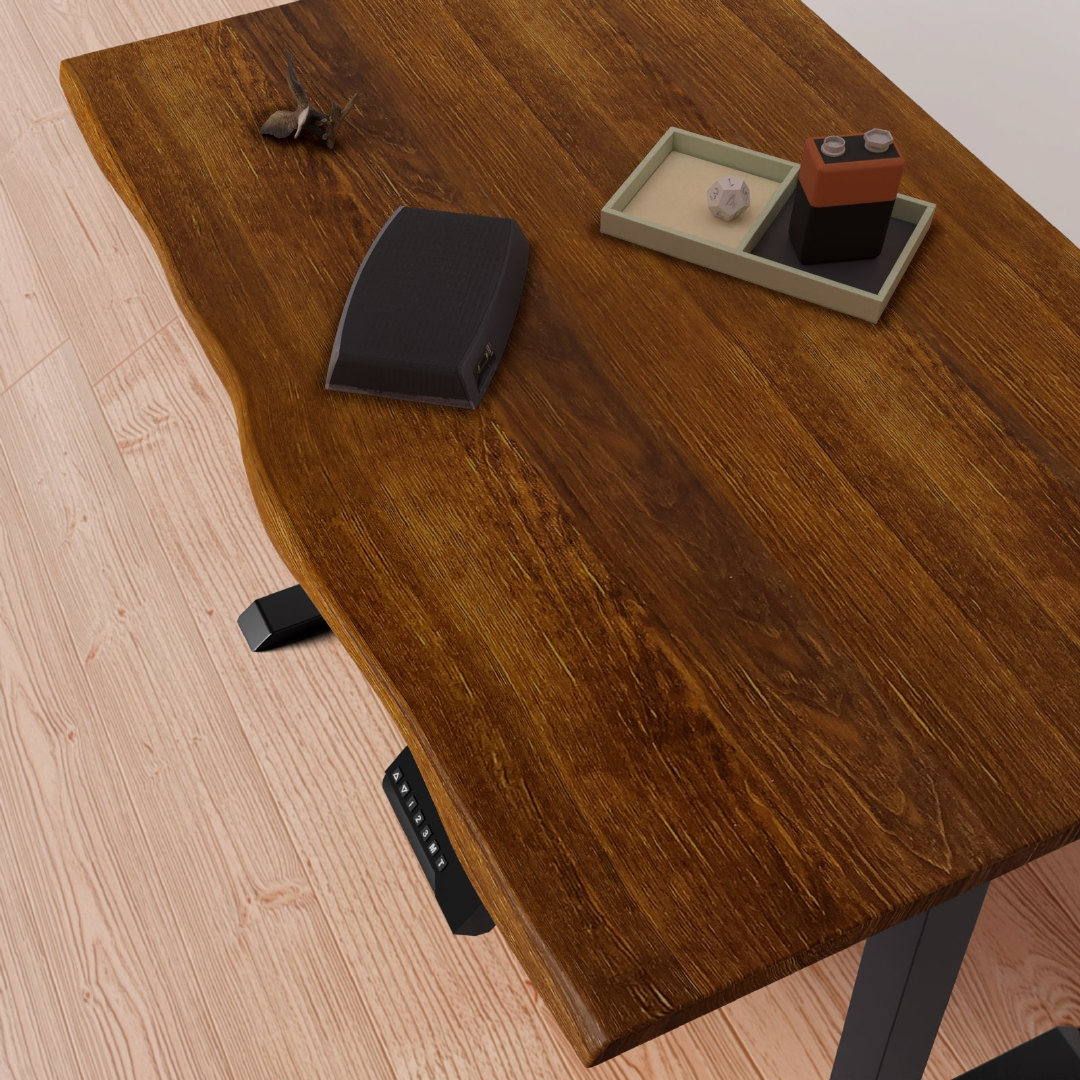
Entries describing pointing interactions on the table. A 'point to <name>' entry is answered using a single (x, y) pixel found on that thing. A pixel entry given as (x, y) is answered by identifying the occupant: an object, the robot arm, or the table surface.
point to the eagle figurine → (305, 114)
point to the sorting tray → (753, 225)
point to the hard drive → (431, 308)
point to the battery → (845, 196)
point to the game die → (728, 198)
